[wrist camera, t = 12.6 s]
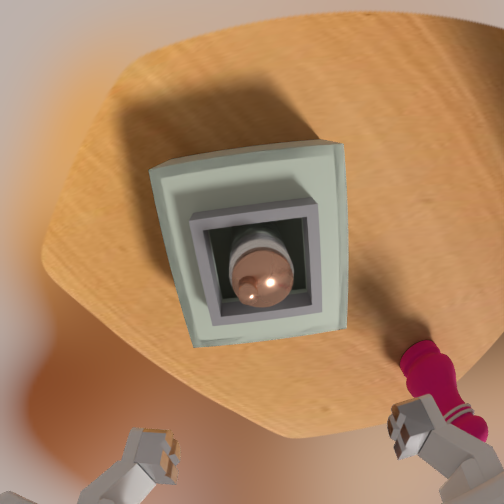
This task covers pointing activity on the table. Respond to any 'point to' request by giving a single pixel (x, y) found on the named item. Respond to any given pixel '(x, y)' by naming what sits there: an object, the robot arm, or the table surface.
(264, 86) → the table surface
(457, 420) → the pepper mill
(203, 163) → the green square holder
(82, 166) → the table surface
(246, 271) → the canister
